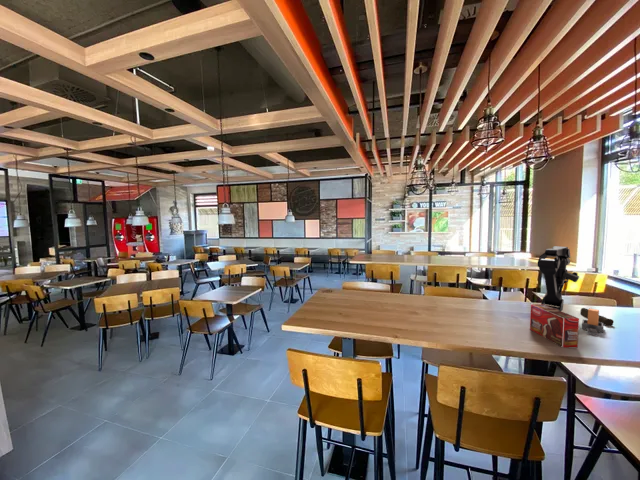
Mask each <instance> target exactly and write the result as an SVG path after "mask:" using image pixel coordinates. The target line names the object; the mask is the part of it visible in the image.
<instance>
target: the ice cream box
mask: <svg viewBox="0 0 640 480" xmlns="http://www.w3.org/2000/svg"><path fill="white" fill-rule="evenodd" d="M529 316H530V317H529V330H530V331H532V332H534V333H536V334H537V335H539V336H541V337H543V338H545V339H547V340H548V341H550V342H552V343H553V342H554V343H553V344H555V343H556V344H555V345H557V344H558V346H559V345H560V346H559V347H561V346H562V347H561V348H569V347H577V348H578V346H579V345H578V342H579V327H580V325H579V324H580V318H578V317H576V316H574V315H571V314H569V313H566V312H564V311H563V310H562V311H559V310H556V309H554V308H551V307H549V306H546V304H545V305H541V303H540V304H539V303H538V304H534V303H533V304H530V315H529Z"/></svg>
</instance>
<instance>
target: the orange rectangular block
mask: <svg viewBox="0 0 640 480" xmlns="http://www.w3.org/2000/svg"><path fill="white" fill-rule="evenodd" d="M587 309H588V317H587V320H588V322H587V324H592V325H597V326H598V322H599V321H598V319H599V315H600V309H595V308H587Z"/></svg>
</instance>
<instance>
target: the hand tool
mask: <svg viewBox="0 0 640 480" xmlns="http://www.w3.org/2000/svg"><path fill="white" fill-rule="evenodd" d="M588 309H589V308H586V307H582V308H580V311H579V312H580V315H581V314H582V316H583V317H585V318H588ZM598 322H600V323H603V325H605V326H608V327H612V326H613V325H614V320H613V319H611V318H607V317H606V316H604V315H600V314H599V319H598Z"/></svg>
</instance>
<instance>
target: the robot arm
mask: <svg viewBox="0 0 640 480" xmlns="http://www.w3.org/2000/svg"><path fill="white" fill-rule="evenodd" d="M548 257H552V258H553V257H554V258H553V259H552V258H550V259H549V258H548ZM570 259H571V250H570V248H569V247H568V246H561V245H559V246H558V245H557V246H556V245H554V246H553V247H551V248H546V249H545V251H544V253H542V254H541V255H539V257H538V260H537V267H538V269H539V272H540V273H542V274H543V275H544V277H543V278H544V282H545V289H546V292H545V295H544V296H543V297H542V299H541V303H540V305H546V306H549V307H551V308H554V309H556V310H559V311H562V312H563V309H564V304H565V301H564V299H563V295H562V291H563V289H564V286H565V283H567V282H569V281H572V282H573V283H577V282H578V281H579V279H580V276H579V274H578V273H577V272H575V271H574V272H568V269H567V266H569V265H570V263H571V260H570Z"/></svg>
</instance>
